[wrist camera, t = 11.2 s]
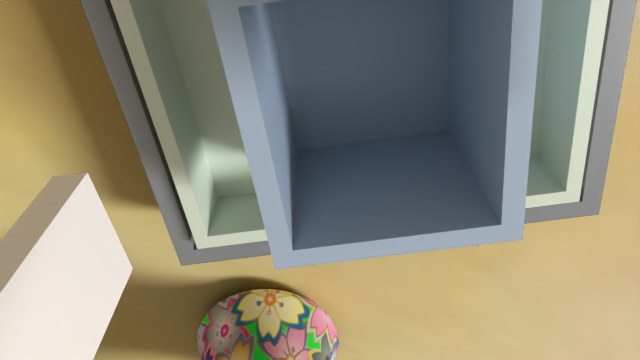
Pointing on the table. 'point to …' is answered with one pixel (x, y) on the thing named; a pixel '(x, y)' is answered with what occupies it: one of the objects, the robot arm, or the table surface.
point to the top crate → (225, 138)
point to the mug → (267, 328)
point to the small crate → (382, 121)
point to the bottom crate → (179, 230)
